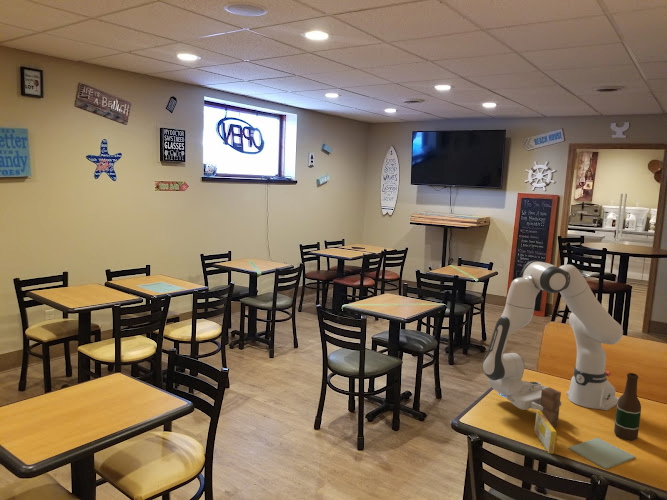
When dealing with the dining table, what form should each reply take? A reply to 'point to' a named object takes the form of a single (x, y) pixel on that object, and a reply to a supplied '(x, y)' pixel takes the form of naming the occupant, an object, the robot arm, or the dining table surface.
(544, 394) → the walnut block
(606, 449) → the mat
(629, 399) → the beer bottle
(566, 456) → the dining table surface
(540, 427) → the candy box
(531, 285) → the robot arm
